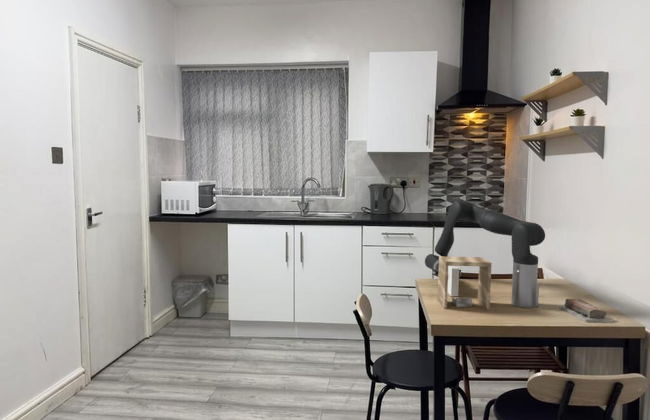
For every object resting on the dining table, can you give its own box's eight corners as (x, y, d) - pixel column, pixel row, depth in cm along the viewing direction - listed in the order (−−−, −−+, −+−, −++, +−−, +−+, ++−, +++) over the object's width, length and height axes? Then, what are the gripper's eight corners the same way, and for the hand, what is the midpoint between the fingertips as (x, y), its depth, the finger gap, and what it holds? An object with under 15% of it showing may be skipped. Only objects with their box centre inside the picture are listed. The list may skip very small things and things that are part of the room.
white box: (451, 289, 217) (452, 263, 216) (458, 296, 205) (459, 268, 204) (444, 289, 217) (445, 263, 216) (451, 296, 205) (452, 268, 204)
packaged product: (559, 297, 190) (584, 297, 190) (559, 309, 190) (583, 309, 190) (586, 310, 172) (613, 310, 172) (585, 323, 172) (612, 323, 172)
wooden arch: (480, 301, 198) (481, 257, 196) (489, 309, 186) (491, 262, 185) (437, 300, 198) (439, 256, 197) (444, 308, 186) (445, 261, 185)
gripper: (428, 260, 227) (436, 268, 210) (457, 261, 227) (468, 268, 210) (427, 276, 228) (435, 284, 211) (457, 276, 228) (467, 285, 211)
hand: (451, 276), depth 211 cm, fingers closed on white box, 3 cm apart
